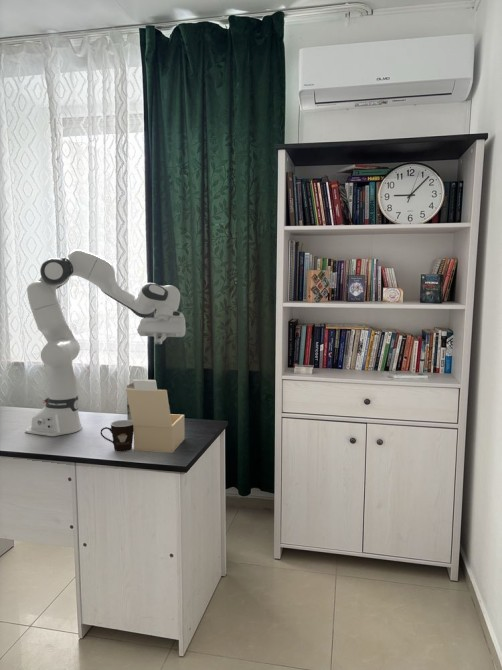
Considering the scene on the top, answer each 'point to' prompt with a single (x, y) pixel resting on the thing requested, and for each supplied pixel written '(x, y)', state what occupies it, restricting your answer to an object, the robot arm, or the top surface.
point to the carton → (160, 436)
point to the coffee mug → (121, 435)
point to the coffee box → (128, 403)
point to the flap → (148, 404)
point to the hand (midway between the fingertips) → (157, 343)
